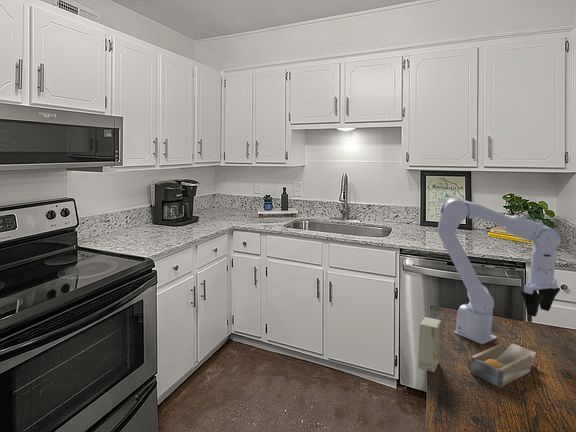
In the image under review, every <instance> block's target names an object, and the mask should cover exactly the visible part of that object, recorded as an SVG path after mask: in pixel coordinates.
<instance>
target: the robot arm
mask: <svg viewBox="0 0 576 432" xmlns="http://www.w3.org/2000/svg"><path fill="white" fill-rule="evenodd" d="M527 217H528V216H526V215H523V214H520V215H518V214H515V215H511V216H507V215H505V214H503V213H500V212H498V211H496V210H494V209H491V208H488V207H486V206H484V205H482V204H479V203H476V202H472V201H469V200H465V199H464V200H462V199H461V198H458V197H451V198H448V199H447V200H445V202H444V203H443V205H442V206H441V209H440V211H439V219H438V225H437V233H438V235H439V238H440V240H441V241H442V243H443V245H444V248H445V249H446V251H447V253H448V255H449V257H450V260H451V261H452V263H453V264H454V267H455V269H456V271H457V273H458V275H459V277H460V278H461V280H462V283H463V284H464V286H465V288H466V291H467V292H466V294H467V297H468V300H469V302H468V303H466V304H465V303H464V304H462V305H460V306H459V308H458V309H457V311H456V312H457V313H456V326H455V330H454V333H455V334H456V335H458V336H461V337H464V338H466V339H469V340H470V341H473V342H475V343H478V344H481V345H484V344H487V343H490V342H491V341H493V340H495V339H497V338H498V337H497V335H494V334H492V324H493V312H494V307H495V300H494V297H492V295H491V294H490V291H489V289H488V287H487V286H485V285H484V284H483V283H481V281H480V279H479V277H478V275H477V273H476V271H475V269H474V267H473V265H472V263H471V261H470V259H469V258H468V255H467V254H466V251H465V250H464V248H463V245H462V244H461V242H460V239H459V238H458V236H457V234H456V231H457V230H458V227H459V225H460V224H461V223H462V222H463V221H464V220H465V219H466V218H467V219H474V218H480V219H482V220H485V221H488V222H491V223H494V224H497V225H499V226H502V227H504V229H505V231H506V233H507V234H509V235H513V236H515V237H517V238H519V239H523V240H525V241H528V242H533V243H532V251H531V261H530V272H529V280H528V282H527V283H526V284H525V285H524V286H523V287H524V288H523V289H521V290H520V295H521V297H522V299H523V301H524V304H525V305H524V306H525V308H526V314H527V315H529V316H531V317H537V316H538V312H539V308H540V310H542V311H546V312H549V311H550V309H551V308H552V304H553V302H554V300H555V298H556V296H557V295H558V294H559V292H560V291H561V288H560V287H558V285H557V284H558V283H557V281H558V279H557V278H554V276H555V267H556V257H557V247H558V246H559V245H561V242H562V239H561V236H560V234H559V232H558V231H557V230H556V229H553V228H552V227H550V226H547V225H546V224H545V223H543V222H540V221H539V222H536V221H534V220H531V219H528V218H527Z"/></svg>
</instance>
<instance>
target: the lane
mask: <svg viewBox="0 0 576 432" xmlns="http://www.w3.org/2000/svg"><path fill="white" fill-rule="evenodd" d="M536 355H537V352H536V351H533V350H531V349H528V348H525V347H523V346H520V345H518V344H515V343H511V344H510V345H509V346H507V348H506V349H505V343H502V342H501V343H499V344H496V345H494V346H492V347H490V348H487V349H485V350H483V351H481V352H480V351H479V353H476V354H474V355H472V356H471V361H470V374H472V375H474V376H477V377H478V378H481V379H482V380H484V381H485V382H488V383H490V384H492V385H494V386H497V387H498V388H502V387H505V386H506V385H508V384H511V383H512V382H514V381H516V380H517V379H519V378H521V377H523V376H525V375H526V374H528V373H530V372H531V370H532V369H531V367H532V366H533V361H534V358H535V357H536ZM488 359H494V360H496V361H498V362H499V364H500V365H501V368H499V369H497V368H495V367H493V366H491V365H489V364H487V363H484V362H485V361H486V360H488Z"/></svg>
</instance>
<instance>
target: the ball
mask: <svg viewBox="0 0 576 432" xmlns="http://www.w3.org/2000/svg"><path fill="white" fill-rule="evenodd" d="M484 363H487V364H489V365H491V366H493V367H495V368H497V369H499V368H501V365H500V364H499V362H498V361H496V360H494V359H488V360H486V361H485V362H484Z"/></svg>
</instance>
